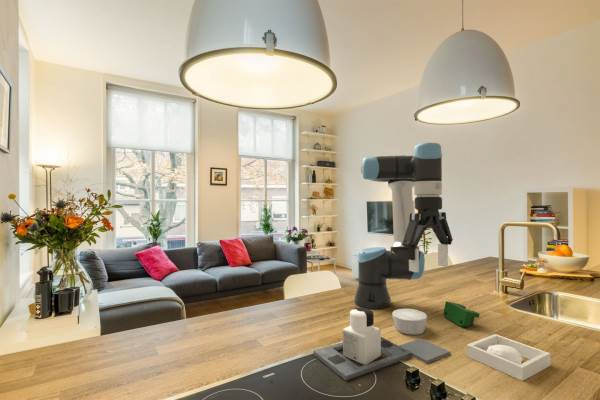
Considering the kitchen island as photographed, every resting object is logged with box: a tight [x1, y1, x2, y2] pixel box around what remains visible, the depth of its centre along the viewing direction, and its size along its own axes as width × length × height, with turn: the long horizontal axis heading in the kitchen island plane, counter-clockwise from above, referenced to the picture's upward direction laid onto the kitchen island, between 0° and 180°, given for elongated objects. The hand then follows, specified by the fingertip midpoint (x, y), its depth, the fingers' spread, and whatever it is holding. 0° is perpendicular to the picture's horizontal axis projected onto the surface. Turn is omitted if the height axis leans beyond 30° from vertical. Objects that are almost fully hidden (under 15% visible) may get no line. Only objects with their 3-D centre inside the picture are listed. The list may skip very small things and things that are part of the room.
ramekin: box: [391, 308, 428, 336], centre depth 106 cm, size 11×11×5 cm
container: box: [342, 307, 382, 366], centre depth 88 cm, size 8×8×13 cm
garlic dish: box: [466, 333, 551, 382], centre depth 85 cm, size 14×14×3 cm
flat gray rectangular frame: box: [312, 336, 413, 382], centre depth 88 cm, size 15×23×1 cm, turn 119°
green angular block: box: [443, 301, 481, 328], centre depth 112 cm, size 12×6×9 cm, turn 4°
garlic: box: [487, 345, 523, 365], centre depth 85 cm, size 8×7×4 cm
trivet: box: [398, 338, 451, 364], centre depth 91 cm, size 10×10×1 cm
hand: (429, 268), depth 92 cm, fingers open, 13 cm apart
